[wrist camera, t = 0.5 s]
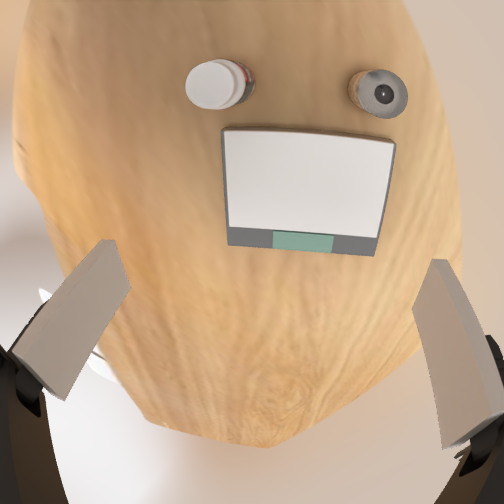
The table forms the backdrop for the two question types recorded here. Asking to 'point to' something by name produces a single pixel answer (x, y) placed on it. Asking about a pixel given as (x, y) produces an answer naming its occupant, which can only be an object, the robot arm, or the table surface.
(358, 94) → the cylinder
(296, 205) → the kitchen scale
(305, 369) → the table surface
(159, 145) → the table surface
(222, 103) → the pill bottle
